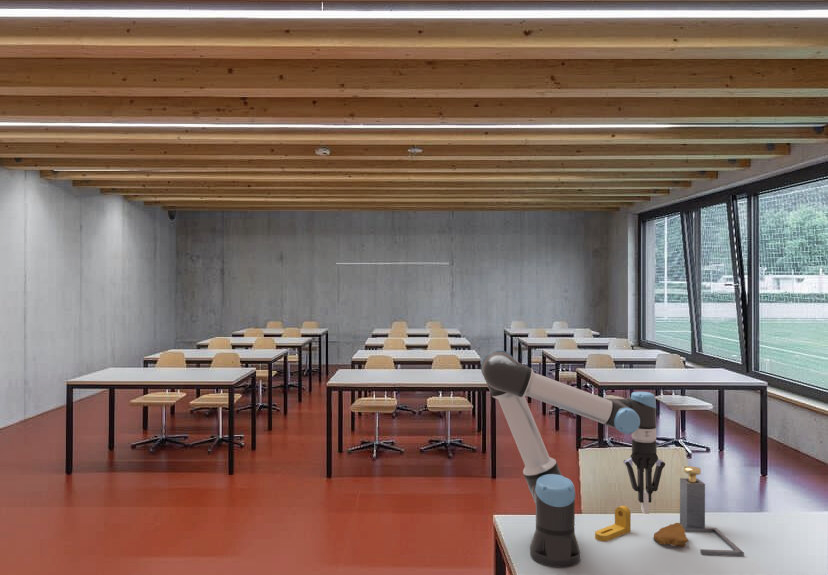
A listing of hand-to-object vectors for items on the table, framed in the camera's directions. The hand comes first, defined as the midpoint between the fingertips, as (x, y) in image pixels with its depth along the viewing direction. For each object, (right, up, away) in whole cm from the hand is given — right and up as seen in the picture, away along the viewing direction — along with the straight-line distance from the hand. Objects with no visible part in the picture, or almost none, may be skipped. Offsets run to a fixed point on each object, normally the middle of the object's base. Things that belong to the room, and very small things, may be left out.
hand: (645, 512), depth 190 cm
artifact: (+8, -10, 0) cm, 13 cm away
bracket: (-9, -10, +5) cm, 15 cm away
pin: (+21, +2, +12) cm, 25 cm away
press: (+21, -10, +3) cm, 23 cm away
